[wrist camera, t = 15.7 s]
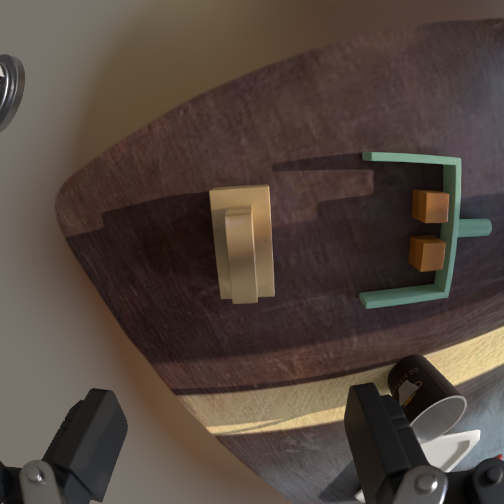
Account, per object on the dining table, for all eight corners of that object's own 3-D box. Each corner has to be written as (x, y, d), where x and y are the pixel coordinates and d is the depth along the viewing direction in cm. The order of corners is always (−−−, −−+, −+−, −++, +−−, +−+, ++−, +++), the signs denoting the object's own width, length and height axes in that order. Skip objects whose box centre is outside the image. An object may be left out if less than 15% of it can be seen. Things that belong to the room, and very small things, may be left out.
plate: (406, 432, 40) (410, 441, 38) (485, 422, 42) (490, 428, 40) (344, 497, 47) (346, 504, 45) (425, 485, 49) (427, 491, 47)
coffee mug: (426, 336, 34) (462, 383, 24) (438, 372, 36) (469, 416, 26) (351, 383, 36) (372, 440, 26) (372, 413, 38) (392, 463, 28)
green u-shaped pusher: (358, 298, 32) (365, 309, 30) (362, 152, 27) (371, 152, 25) (472, 283, 32) (482, 291, 29) (483, 161, 27) (496, 162, 24)
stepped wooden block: (272, 281, 31) (277, 318, 24) (224, 284, 31) (215, 321, 24) (267, 182, 28) (271, 191, 21) (214, 186, 28) (201, 197, 21)
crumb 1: (411, 217, 29) (425, 223, 26) (412, 189, 28) (426, 193, 25) (433, 216, 29) (447, 222, 26) (434, 189, 28) (449, 193, 25)
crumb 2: (408, 262, 31) (420, 272, 28) (410, 236, 30) (423, 243, 27) (429, 260, 31) (442, 269, 28) (432, 234, 30) (446, 242, 27)
